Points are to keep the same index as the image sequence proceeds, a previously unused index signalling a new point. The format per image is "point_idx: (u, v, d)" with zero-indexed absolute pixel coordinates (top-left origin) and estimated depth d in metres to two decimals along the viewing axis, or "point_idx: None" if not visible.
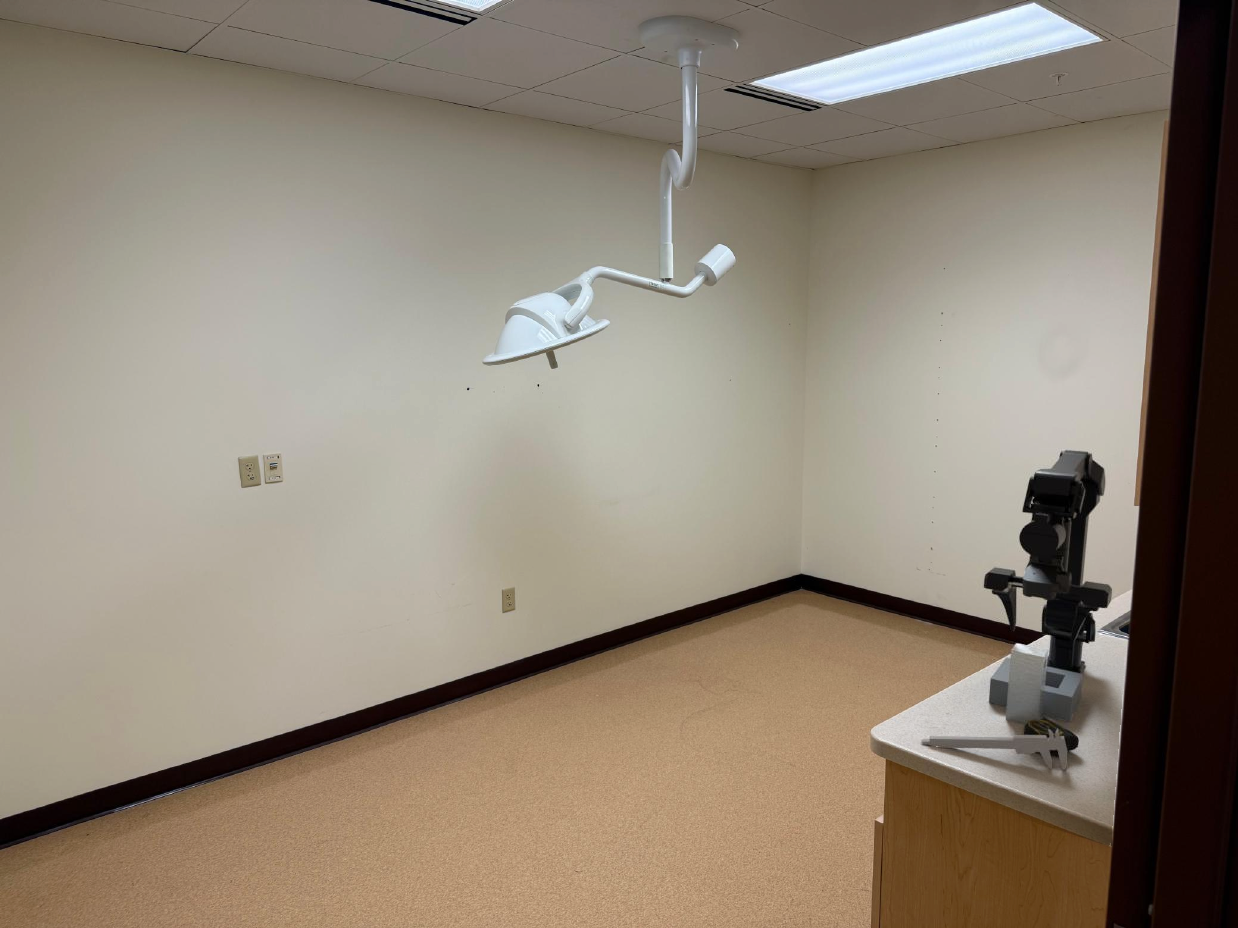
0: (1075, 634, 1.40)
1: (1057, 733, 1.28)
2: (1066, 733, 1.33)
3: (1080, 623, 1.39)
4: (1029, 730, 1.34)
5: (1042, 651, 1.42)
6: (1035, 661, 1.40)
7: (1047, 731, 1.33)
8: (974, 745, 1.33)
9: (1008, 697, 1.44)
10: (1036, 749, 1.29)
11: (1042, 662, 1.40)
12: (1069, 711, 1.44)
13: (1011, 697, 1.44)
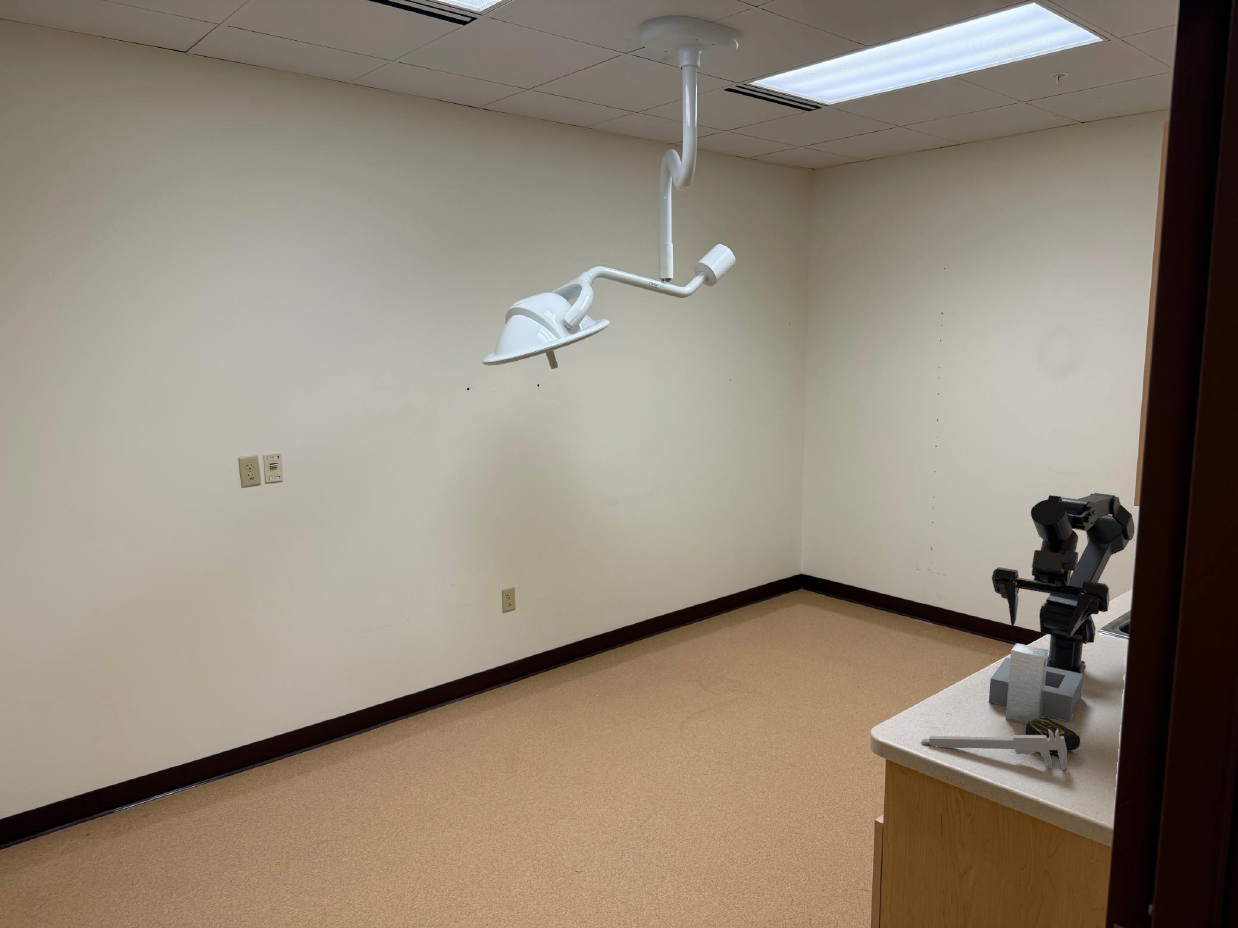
0: (1073, 626, 1.47)
1: (1057, 733, 1.28)
2: (1068, 733, 1.33)
3: (1079, 615, 1.47)
4: (1031, 730, 1.34)
5: (1042, 651, 1.42)
6: (1035, 661, 1.40)
7: None
8: (973, 745, 1.33)
9: (1008, 697, 1.44)
10: (1036, 749, 1.29)
11: (1042, 662, 1.40)
12: (1069, 711, 1.44)
13: (1011, 697, 1.44)
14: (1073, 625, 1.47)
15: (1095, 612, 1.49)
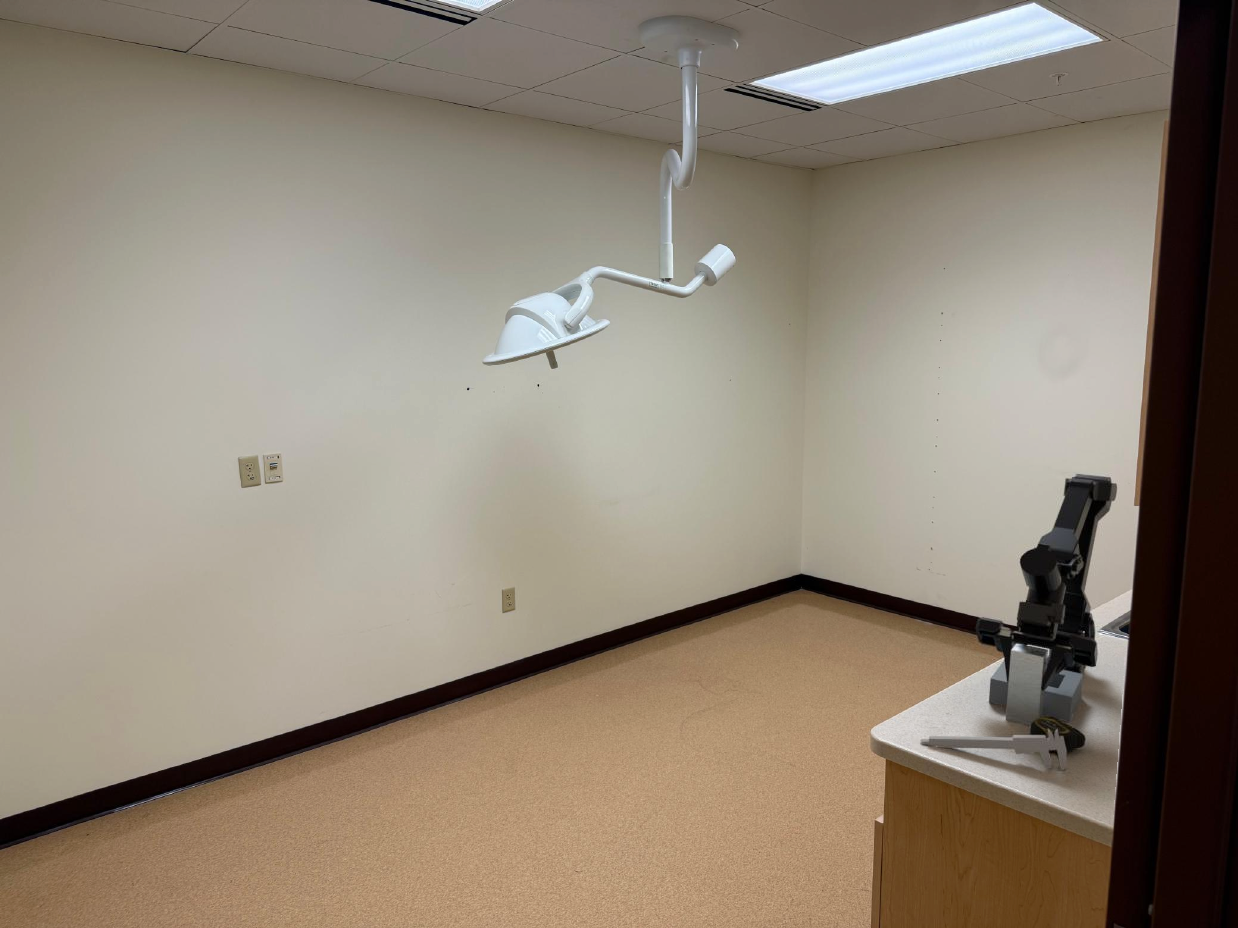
0: (1046, 679, 1.41)
1: (1056, 733, 1.28)
2: (1073, 731, 1.33)
3: (1053, 668, 1.41)
4: (1036, 729, 1.34)
5: (1042, 651, 1.42)
6: (1035, 661, 1.40)
7: (1054, 729, 1.34)
8: (973, 745, 1.33)
9: (1008, 697, 1.44)
10: (1035, 749, 1.29)
11: (1042, 662, 1.40)
12: (1069, 711, 1.44)
13: (1011, 697, 1.44)
14: (1046, 679, 1.41)
15: (1070, 664, 1.44)
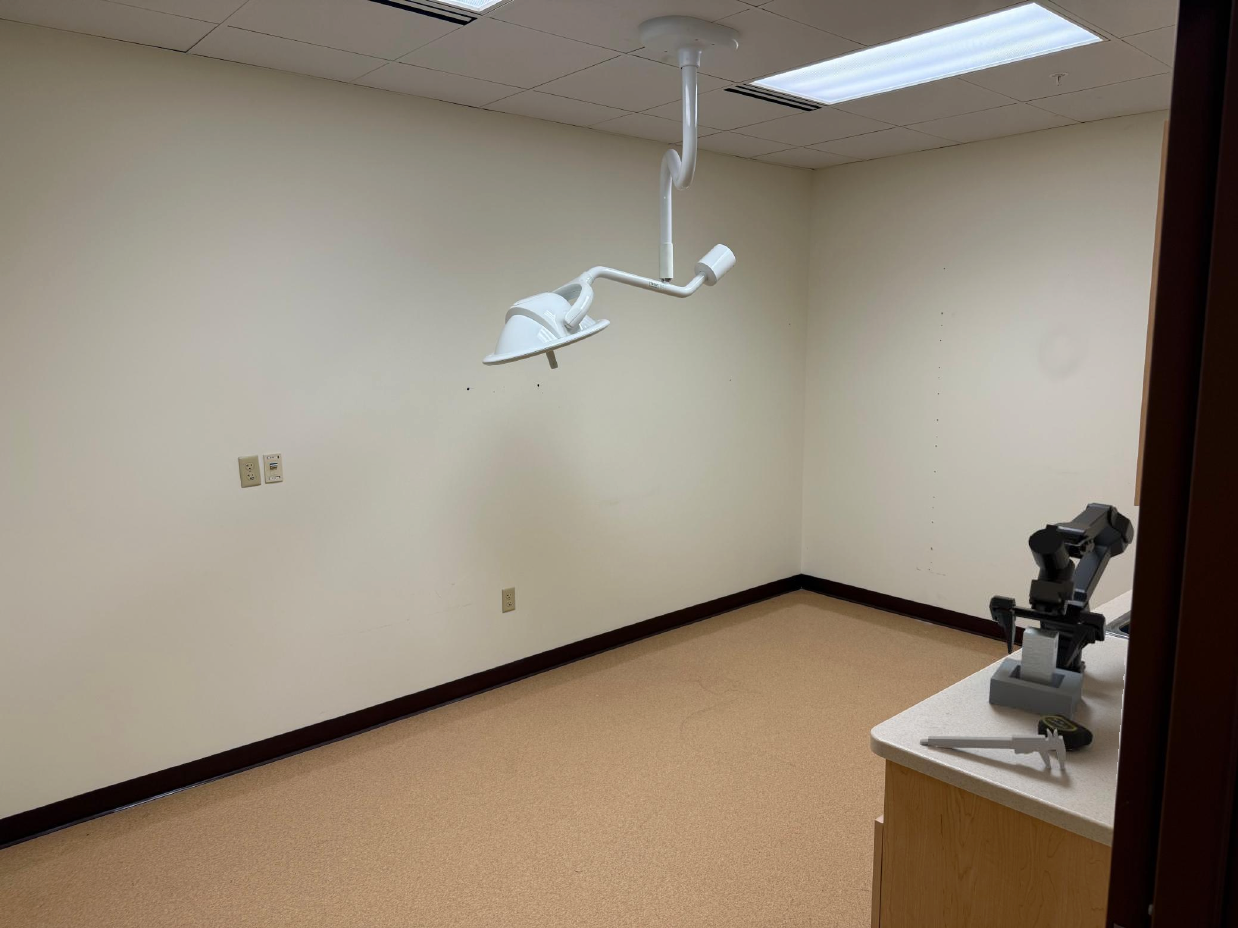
0: (1070, 655, 1.47)
1: (1055, 733, 1.28)
2: (1080, 729, 1.34)
3: (1076, 644, 1.47)
4: (1044, 726, 1.35)
5: (1053, 633, 1.49)
6: (1047, 642, 1.48)
7: (1061, 727, 1.34)
8: (972, 745, 1.33)
9: (1020, 677, 1.51)
10: (1035, 749, 1.29)
11: (1053, 643, 1.47)
12: (1069, 711, 1.44)
13: (1023, 677, 1.51)
14: (1070, 655, 1.47)
15: (1092, 642, 1.50)
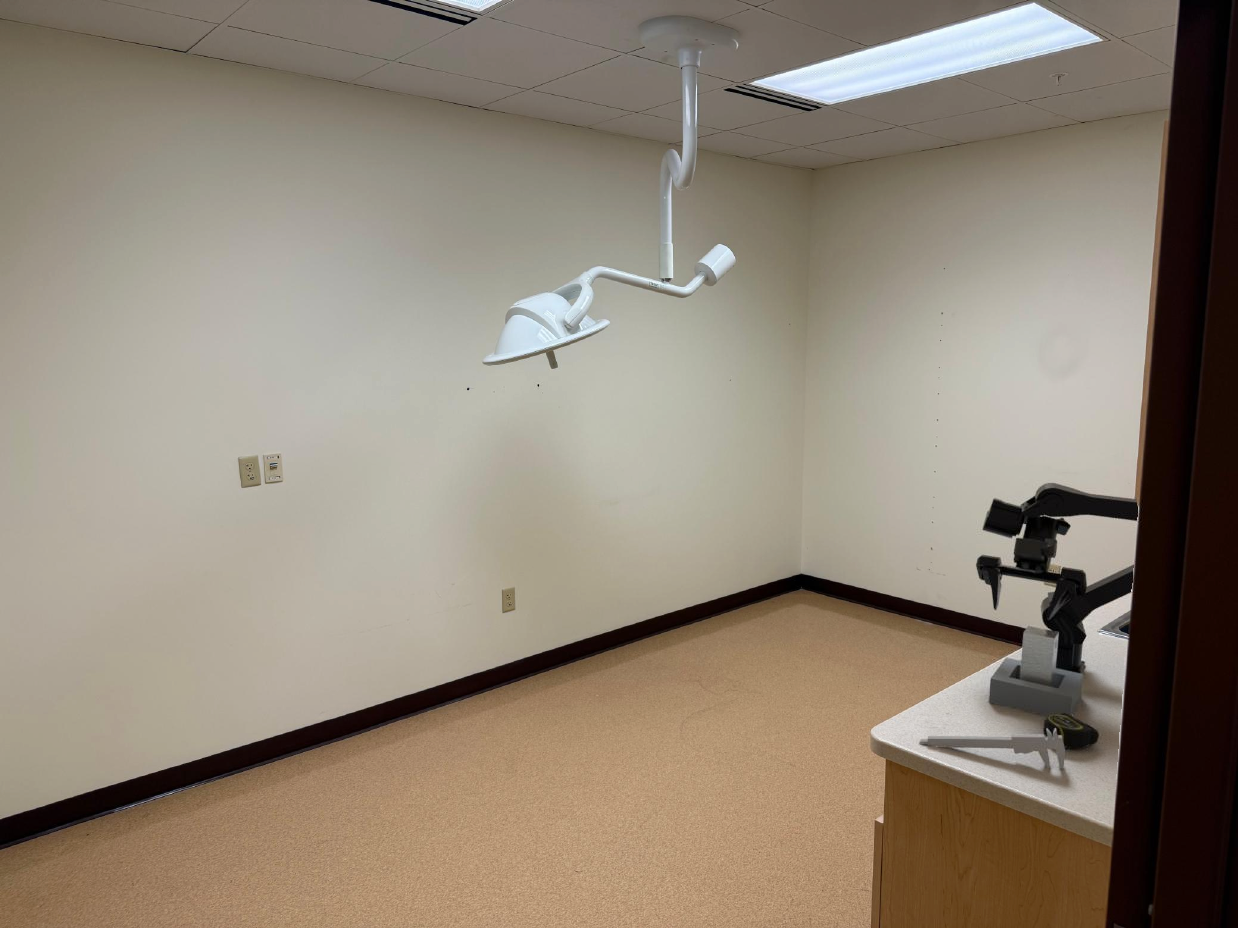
0: (1052, 609, 1.55)
1: (1055, 732, 1.28)
2: (1086, 728, 1.34)
3: (1057, 599, 1.55)
4: (1050, 725, 1.36)
5: (1053, 633, 1.49)
6: (1047, 642, 1.48)
7: (1067, 726, 1.35)
8: (972, 745, 1.33)
9: (1020, 677, 1.51)
10: (1034, 748, 1.29)
11: (1053, 643, 1.47)
12: (1069, 711, 1.44)
13: (1023, 677, 1.51)
14: (1052, 609, 1.55)
15: (1073, 597, 1.57)
